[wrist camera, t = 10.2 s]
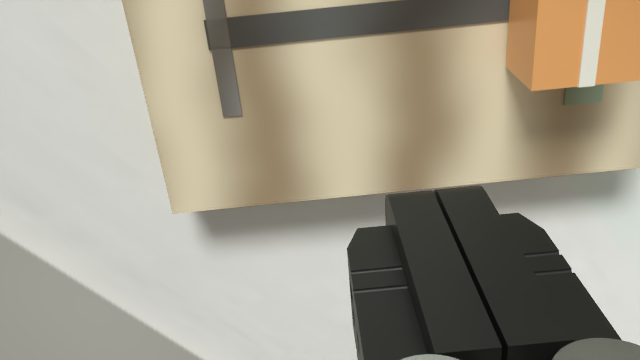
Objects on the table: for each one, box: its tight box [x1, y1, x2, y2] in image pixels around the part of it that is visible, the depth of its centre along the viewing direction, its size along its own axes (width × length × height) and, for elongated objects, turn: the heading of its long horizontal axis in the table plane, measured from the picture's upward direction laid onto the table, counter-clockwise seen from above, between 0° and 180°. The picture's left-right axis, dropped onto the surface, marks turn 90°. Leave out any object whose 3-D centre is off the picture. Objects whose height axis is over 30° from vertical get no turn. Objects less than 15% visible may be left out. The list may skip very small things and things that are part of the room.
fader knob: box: [506, 0, 640, 91], centre depth 22 cm, size 4×5×3 cm
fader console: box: [122, 0, 640, 214], centre depth 25 cm, size 22×16×3 cm
